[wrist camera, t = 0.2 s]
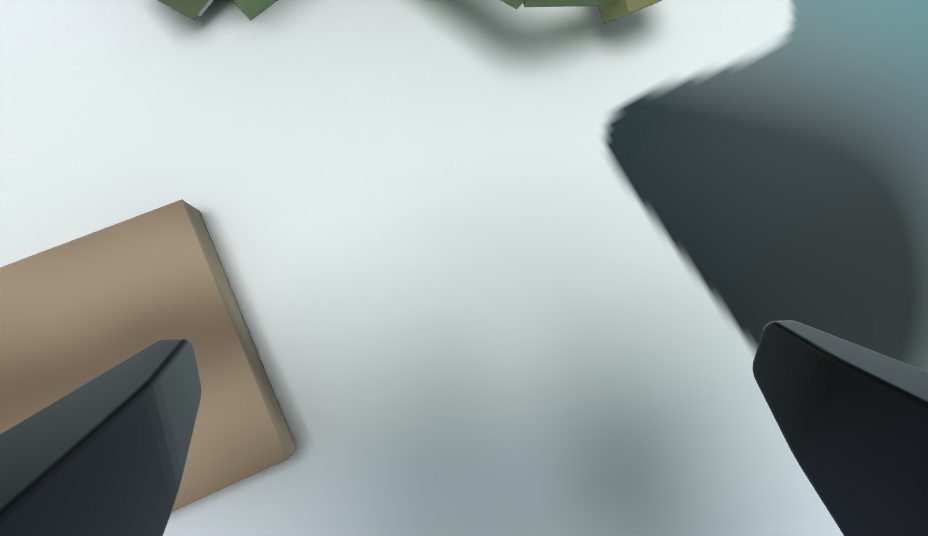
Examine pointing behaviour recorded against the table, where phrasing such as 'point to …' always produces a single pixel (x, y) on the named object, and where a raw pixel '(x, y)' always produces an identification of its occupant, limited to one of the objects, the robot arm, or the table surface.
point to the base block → (142, 336)
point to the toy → (611, 3)
